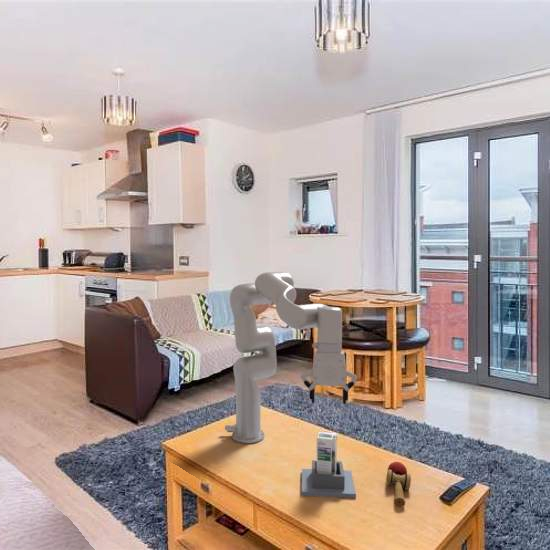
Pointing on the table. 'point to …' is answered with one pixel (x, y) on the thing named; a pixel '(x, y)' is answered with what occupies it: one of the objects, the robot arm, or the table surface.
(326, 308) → the robot arm
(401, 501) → the kendama
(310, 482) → the socket board
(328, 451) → the syrup box
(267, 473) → the table surface
